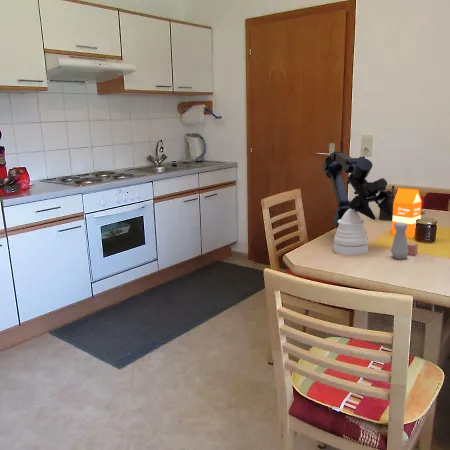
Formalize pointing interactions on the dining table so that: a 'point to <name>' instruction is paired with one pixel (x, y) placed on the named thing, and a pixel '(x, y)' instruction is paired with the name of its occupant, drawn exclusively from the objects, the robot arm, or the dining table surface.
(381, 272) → the dining table surface
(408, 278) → the dining table surface
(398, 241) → the salt shaker
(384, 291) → the dining table surface
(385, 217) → the coffee grinder
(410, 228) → the orange juice
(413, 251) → the cube
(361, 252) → the honey pot
